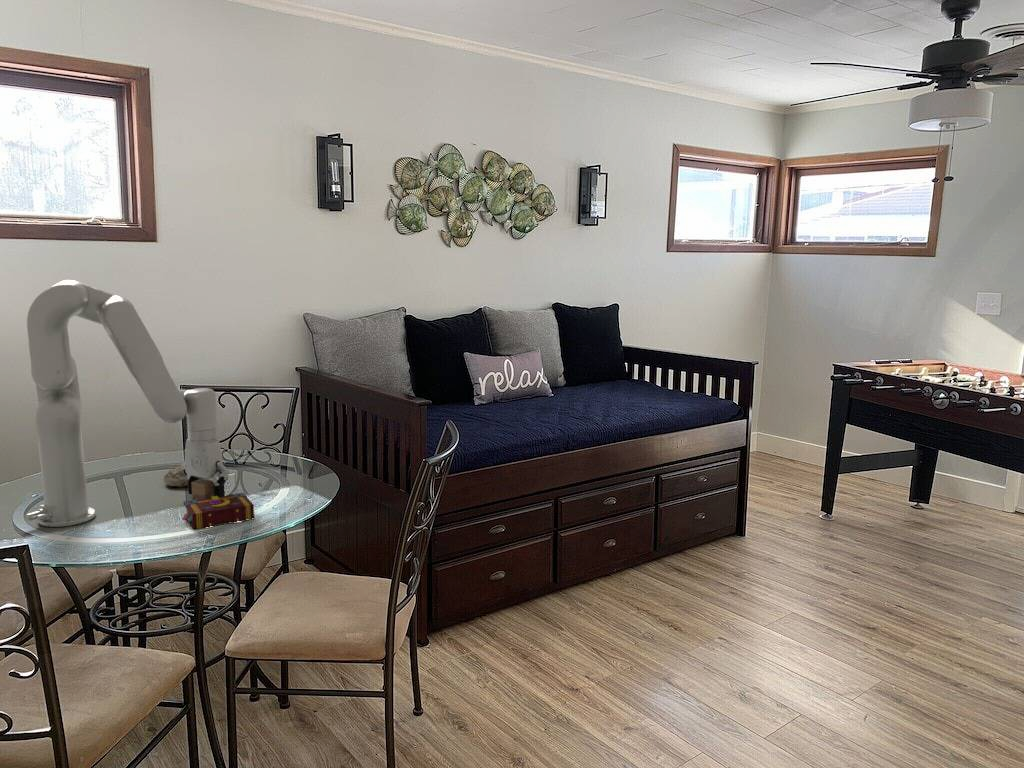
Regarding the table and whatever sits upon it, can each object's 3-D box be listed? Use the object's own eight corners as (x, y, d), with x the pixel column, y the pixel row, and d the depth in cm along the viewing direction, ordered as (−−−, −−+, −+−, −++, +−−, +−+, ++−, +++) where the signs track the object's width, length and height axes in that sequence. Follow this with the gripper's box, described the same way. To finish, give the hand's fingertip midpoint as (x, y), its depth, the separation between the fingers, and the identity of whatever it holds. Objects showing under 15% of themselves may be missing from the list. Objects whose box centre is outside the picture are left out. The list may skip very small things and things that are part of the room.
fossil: (169, 490, 222) (155, 462, 226) (173, 502, 229) (159, 474, 232) (211, 473, 228) (197, 445, 231) (213, 485, 235) (199, 458, 238)
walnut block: (205, 506, 211) (204, 484, 210) (192, 503, 213) (191, 481, 212) (220, 501, 215) (219, 480, 214) (207, 498, 217) (206, 477, 216)
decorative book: (255, 521, 201) (254, 502, 200) (188, 532, 192) (186, 512, 191) (244, 508, 210) (243, 490, 209) (179, 518, 202) (178, 499, 201)
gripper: (169, 433, 211) (173, 494, 214) (214, 441, 203) (218, 505, 206) (192, 428, 218) (195, 487, 221) (237, 435, 210) (240, 497, 213)
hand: (206, 495), depth 214 cm, fingers open, 9 cm apart
